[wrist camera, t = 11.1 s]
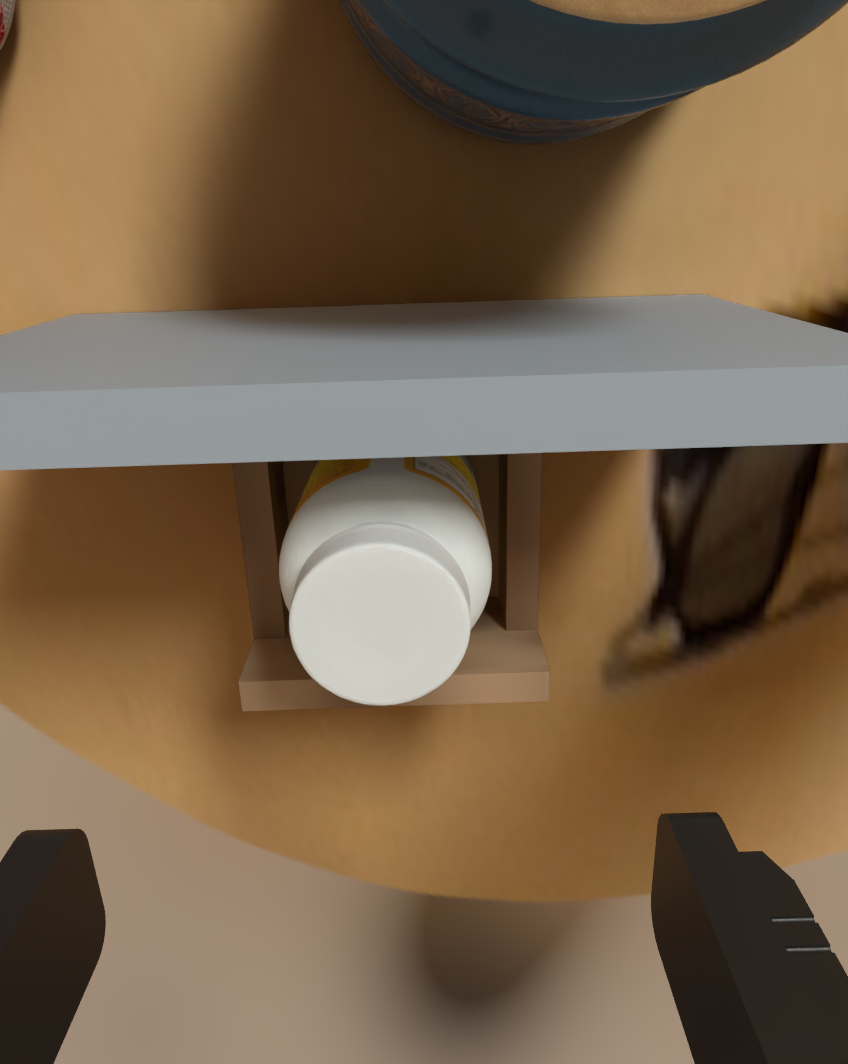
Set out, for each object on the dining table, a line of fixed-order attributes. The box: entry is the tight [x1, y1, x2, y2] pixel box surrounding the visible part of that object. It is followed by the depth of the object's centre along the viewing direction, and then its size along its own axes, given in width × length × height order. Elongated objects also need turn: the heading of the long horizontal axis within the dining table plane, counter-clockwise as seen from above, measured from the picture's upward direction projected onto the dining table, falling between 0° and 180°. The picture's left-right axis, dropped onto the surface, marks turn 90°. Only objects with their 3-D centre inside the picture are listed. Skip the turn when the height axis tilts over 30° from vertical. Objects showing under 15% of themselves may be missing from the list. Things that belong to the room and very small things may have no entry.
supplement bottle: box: [279, 455, 492, 705], centre depth 22 cm, size 5×5×10 cm
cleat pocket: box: [233, 453, 550, 711], centre depth 26 cm, size 9×9×9 cm
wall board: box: [0, 294, 848, 470], centre depth 22 cm, size 22×2×14 cm, turn 92°
